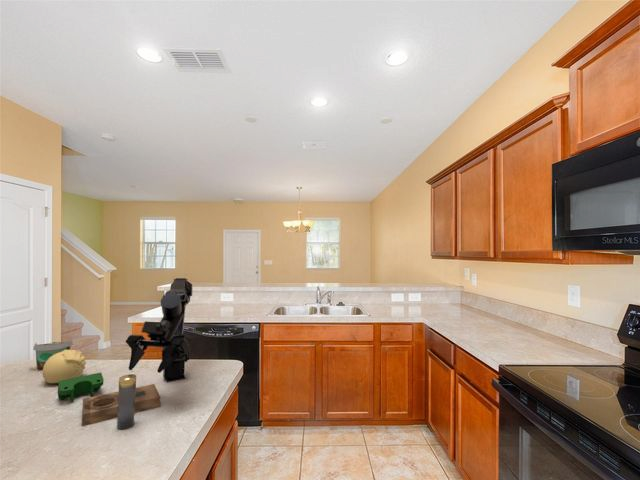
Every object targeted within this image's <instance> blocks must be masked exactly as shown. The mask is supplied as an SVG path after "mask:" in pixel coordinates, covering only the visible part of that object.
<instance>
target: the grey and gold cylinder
mask: <svg viewBox="0 0 640 480" xmlns="http://www.w3.org/2000/svg"><path fill="white" fill-rule="evenodd" d="M136 388H137V375H136V374H135V373H134V374H125V375H121V376H120V377H119V378H118V391H119V394H118V414H117V417H116V429H117V430H120V431H123V430H129V429H130V428H133V426H134V425H135V417H136V416H135V395H136Z"/></svg>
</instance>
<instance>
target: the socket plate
mask: <svg viewBox="0 0 640 480" xmlns="http://www.w3.org/2000/svg"><path fill="white" fill-rule="evenodd" d="M118 394H119V390H118V391H113V392H109V393H104V394H98V395H93V397H91V396H90V397H86V398H83V399H82V414H81V427H84V426H88V425H91V424H96V423H99V422H103V421H107V420H111V419H117V414H118ZM159 407H161V395H160V393H159V391H158V389H157V387H156V385H155V383H152V384H148V385H143V386H142V385H141V386H139V387H138V386H136V395H135V413H139V412H143V411H147V410H151V409H152V410H153V409H155V408H159Z"/></svg>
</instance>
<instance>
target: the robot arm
mask: <svg viewBox="0 0 640 480" xmlns="http://www.w3.org/2000/svg"><path fill="white" fill-rule="evenodd" d="M192 296H193V284H192V283H191V282H190V281H188V278H186V277H181V278H179V277H177V278H173V282H172V283H171V284H170V289H169V290H166V292H165V293H164V294H163V295H162V297H161V300H160V306H161V311H162V315H163V316H162V318H161V320H160V321H144V323H143V326H142V329H141V333H145V334H147V337H148V338H149V339H146V338H145V337H144V335H143V334H130V335H129V336H127V338H126V339H125V343H126V344H127V346H128V347H129V348H130V349H131V350H130V351H131V352H130V359H129V364H128V365H129V366H128V370H129V371H132V370H133V369H134V368H135V367H136V366H137V365H138V363H139V361H141V359H142V357H143V356H144V355H145V353H146V352H145V351H146V350H147V349H148V348H149V347H151V348H162V352H161V361H160V363H159V366H158V368H157V373H159V374H160V373H161V372H162V373H163V374H162V378H163V379H164V380H165V381H166V382H167V383H169V382H175V381H178V380H179V381H180V380H183V379H186V375H185V369H186V368H185V367H186V365H185V364H186V362H188V361H190V349H191V348H190V344H189V343H188V341H187V339H186V337H185V335H184V327H185V326H184V325H185V314H186V308H187V307H186V306H187V305H188V304H189V303H190V302H191V297H192Z"/></svg>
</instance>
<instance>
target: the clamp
mask: <svg viewBox="0 0 640 480" xmlns="http://www.w3.org/2000/svg"><path fill="white" fill-rule="evenodd" d="M57 384H58V385H57V398H58V399H59V400H61V401H62V400H66V399H69V401H70V403H73V402H74V398H75V397H79V396H83V395H89V396H90V397H94V393H95V392H98V391H100V390H101V389H102V386H104V377H103V374H102V372H96V373H91V374H86V375H82V376H81V375H80V376H79V377H76V378H71V379H66V380H61V381H59V383H57Z"/></svg>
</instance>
